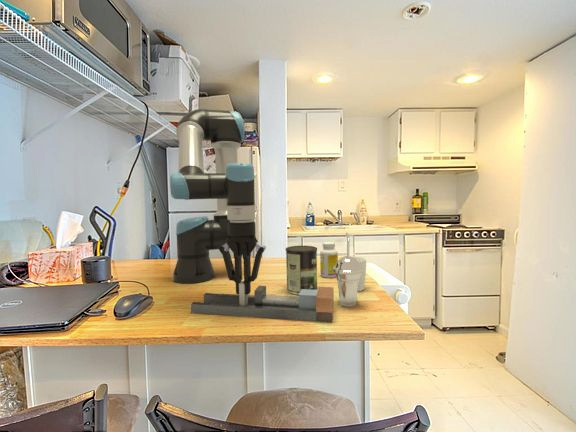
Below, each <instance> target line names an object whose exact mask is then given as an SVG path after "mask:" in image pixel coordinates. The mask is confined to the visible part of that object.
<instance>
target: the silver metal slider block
mask: <svg viewBox="0 0 576 432" xmlns="http://www.w3.org/2000/svg"><path fill="white" fill-rule="evenodd" d="M253 291H254V293H253V296H255V306H268V307H285V308H299V295H293V296H292V295H278V294H277V295H275V294H267V285H258V286H257V287H256V289H254V290H253Z"/></svg>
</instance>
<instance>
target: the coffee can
mask: <svg viewBox="0 0 576 432" xmlns="http://www.w3.org/2000/svg"><path fill="white" fill-rule="evenodd" d="M285 254H286V256H285V257H286V258H285V259H286V291H287V293H288V294H292V295H294V296H299V293H300V291H301V289H309V290H318V256H317V255H318V248H317V247H316V246H312V245H291V246H287V247H286V248H285Z"/></svg>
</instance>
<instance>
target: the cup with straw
mask: <svg viewBox="0 0 576 432" xmlns="http://www.w3.org/2000/svg"><path fill="white" fill-rule="evenodd" d="M345 237H346V255H345V256H341V258H338V261H337V263H336V266H334V267H333V271H334V272H336V277H335V278H336V282H337V289H338V290H337V292H338V297H339V299H338V300H339V305H341V306H343V307H346V308H347V307H351V308H352V307H355V306H356V305H357V298H358V292H359V291H358V282H359V278H360V273H362V272H363V268H362V267H360V264H359V262H358V261H357V260H356V259H355V258H353V257H354V256H351V255H350V240H351V239H350V236H349V233H348V232H345Z"/></svg>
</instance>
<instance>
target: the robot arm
mask: <svg viewBox="0 0 576 432" xmlns="http://www.w3.org/2000/svg"><path fill="white" fill-rule="evenodd" d="M175 133H176V137H177V139H178V171H177V172H175V173H171V174H170V176H169V177H170V178H169V188H170V189H169V190H170V195H171V198H173V199H175V200H184V201H189V200H209V199H210V200H213V199H214V200H216V207H217V208H216V212H214V214H213V219H209V217H208V216H207V215H205V216H204V215H203V216H196V217H190V218H184V219H181V220H179V221H178V222H177V223H176V229H175V230H176V231H175V235H176V250H177V251H176V254H177V255H176V256H177V261H176V264H175V268H174V270H173V281H174V282H176V283H178V284H196V283H197V284H198V283H204V282H207V281H210V280H212V279H214V278H215V273H216V272H215V269H214V268H215V267H214V265H213V263H212V261H211V258H210V257H211V256H210V251H215V250H218V251H219V252H220V253H221V255H222V258H223V262H224V265H225V270H226V273H227V277H228V278H227V279H228V281H233V282H235V294H236V295H239V304H240V305H247V304H248V295H250V294H251V289H252V288H251V283H252V282H255V281H256V280H257V279H258V275H259V270H260V265H261V262H262V261H261V260H262V257H263V253H264V252H265V250H266V246H265V245H262V244H260V243H259V241H258V239H257V237H256V232H257V231H256V229H257V228H256V222H255V221H254V220H256V200H255V199H256V198H255V195H256V193H255V191H256V189H255V178H256V176H255V167H254V165H253V164H251V163H248V162H247V163H244V162H239V161H238V149H239V148H241V146H242V144H241V143H243V142H244V141H245V124H244V119H243V116H242V115H241V113H240V112H238V111H233V110H228V109H227V110H222V109H206V108H197V109H194V110H191V111H189V112H188V113H186V114H184V115H183V117H182V118H180V120H179V121H178V123H177V126H176V132H175ZM203 141H207V142H208V141H209V142H210V147H212V148H213V149H214V154H215V155H214V157H215V158H214V159H215V160H214V161H215V173H212V172H210V173H209V172H207V173H206V172H205V168H204V154H203ZM254 249H255V252H256V253H255V256H254V260H253V266H252V265H251V264H252V263H251V256H252V253H253V250H254ZM230 250H231V252H232V253H233V259H234V263H233V260H232V255H231V253H230ZM242 262H243V264H242ZM242 266H243V268H242ZM251 266H252V268H251Z"/></svg>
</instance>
